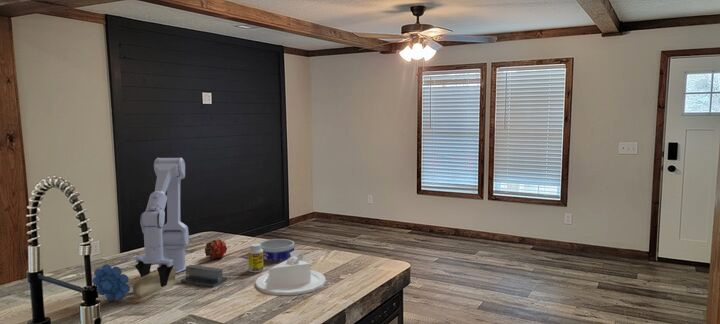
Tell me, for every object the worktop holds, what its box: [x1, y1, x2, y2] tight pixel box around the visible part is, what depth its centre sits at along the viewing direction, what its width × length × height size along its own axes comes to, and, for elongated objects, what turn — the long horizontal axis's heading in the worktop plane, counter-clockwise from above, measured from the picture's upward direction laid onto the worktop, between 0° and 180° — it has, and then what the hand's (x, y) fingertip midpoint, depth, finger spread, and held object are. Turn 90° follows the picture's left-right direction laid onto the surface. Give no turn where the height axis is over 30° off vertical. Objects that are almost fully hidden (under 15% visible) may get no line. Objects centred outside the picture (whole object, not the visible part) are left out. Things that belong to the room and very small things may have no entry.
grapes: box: [91, 264, 131, 302], centre depth 150 cm, size 12×7×12 cm, turn 92°
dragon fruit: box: [204, 238, 228, 260], centre depth 198 cm, size 8×8×12 cm
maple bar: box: [132, 267, 176, 300], centre depth 160 cm, size 3×16×6 cm, turn 160°
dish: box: [255, 249, 326, 296], centre depth 168 cm, size 25×25×11 cm
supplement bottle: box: [248, 243, 264, 273], centre depth 181 cm, size 6×6×10 cm
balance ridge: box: [180, 264, 228, 288], centre depth 169 cm, size 14×8×5 cm, turn 70°
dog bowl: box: [258, 238, 295, 263], centre depth 200 cm, size 15×15×6 cm
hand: (155, 284), depth 160 cm, fingers open, 7 cm apart
